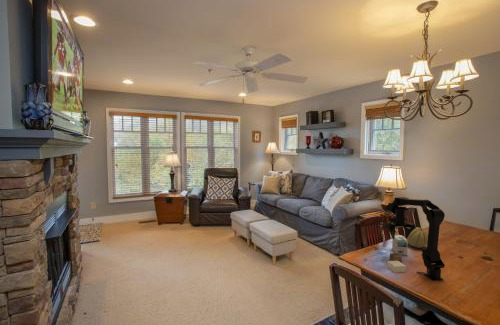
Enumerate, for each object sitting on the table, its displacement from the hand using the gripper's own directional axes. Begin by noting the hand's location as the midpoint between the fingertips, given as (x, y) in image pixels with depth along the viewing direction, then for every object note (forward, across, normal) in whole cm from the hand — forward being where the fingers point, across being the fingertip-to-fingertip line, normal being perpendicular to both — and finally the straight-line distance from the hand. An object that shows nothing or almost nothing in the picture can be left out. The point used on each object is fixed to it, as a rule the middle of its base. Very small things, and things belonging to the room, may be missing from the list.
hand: (399, 238), depth 170 cm
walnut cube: (+14, +6, +5) cm, 16 cm away
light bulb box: (+14, -6, -9) cm, 17 cm away
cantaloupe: (+13, -25, -16) cm, 33 cm away
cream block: (+14, +12, +14) cm, 23 cm away
